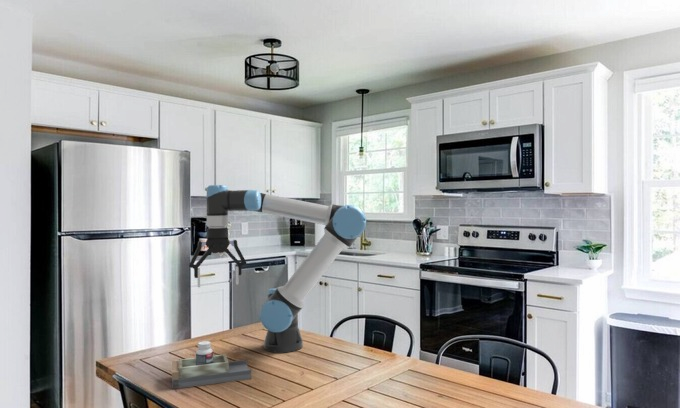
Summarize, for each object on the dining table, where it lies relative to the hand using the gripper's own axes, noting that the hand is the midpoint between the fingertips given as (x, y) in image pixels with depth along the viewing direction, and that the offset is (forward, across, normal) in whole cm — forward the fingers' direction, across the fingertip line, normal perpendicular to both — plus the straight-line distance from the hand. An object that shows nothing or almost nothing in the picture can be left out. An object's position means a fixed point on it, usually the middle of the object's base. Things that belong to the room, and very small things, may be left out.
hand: (218, 285), depth 172 cm
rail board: (+27, +4, +19) cm, 33 cm away
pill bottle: (+24, +6, +19) cm, 31 cm away
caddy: (+25, +7, +19) cm, 32 cm away
